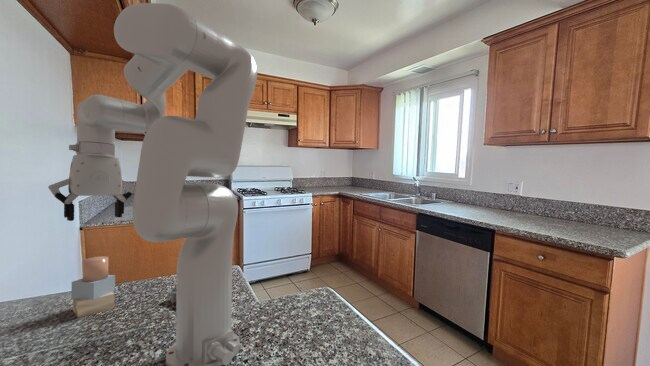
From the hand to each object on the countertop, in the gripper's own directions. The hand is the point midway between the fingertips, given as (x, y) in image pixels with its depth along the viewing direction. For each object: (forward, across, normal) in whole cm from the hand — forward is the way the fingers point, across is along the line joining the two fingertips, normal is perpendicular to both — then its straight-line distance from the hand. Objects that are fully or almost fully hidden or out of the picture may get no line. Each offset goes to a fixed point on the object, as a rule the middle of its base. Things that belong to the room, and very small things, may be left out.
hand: (95, 218), depth 71 cm
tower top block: (+19, 0, 0) cm, 19 cm away
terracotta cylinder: (+15, 0, 0) cm, 15 cm away
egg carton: (+24, +18, -14) cm, 32 cm away
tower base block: (+23, 0, +1) cm, 23 cm away
